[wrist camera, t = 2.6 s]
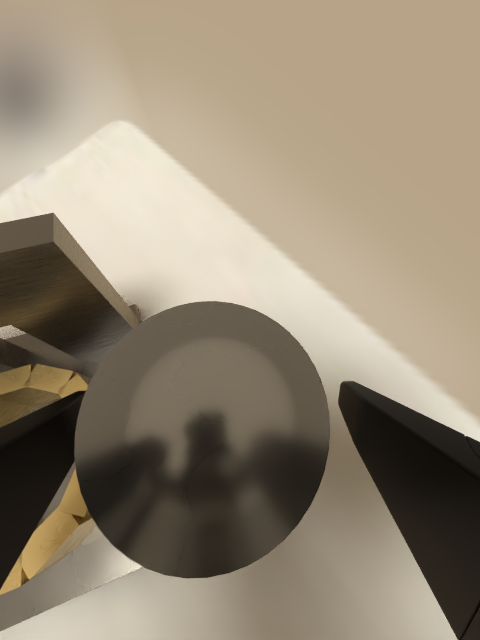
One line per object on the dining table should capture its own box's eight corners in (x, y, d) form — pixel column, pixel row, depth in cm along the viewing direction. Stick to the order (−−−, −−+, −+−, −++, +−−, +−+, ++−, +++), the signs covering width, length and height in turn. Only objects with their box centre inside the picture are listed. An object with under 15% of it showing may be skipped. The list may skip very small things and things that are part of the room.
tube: (263, 477, 14) (352, 591, 3) (182, 472, 14) (22, 572, 3) (263, 393, 16) (318, 305, 5) (193, 389, 16) (115, 294, 5)
